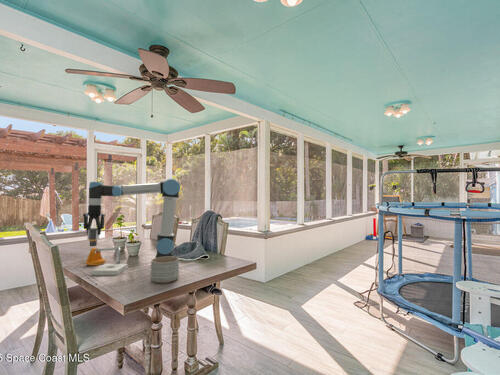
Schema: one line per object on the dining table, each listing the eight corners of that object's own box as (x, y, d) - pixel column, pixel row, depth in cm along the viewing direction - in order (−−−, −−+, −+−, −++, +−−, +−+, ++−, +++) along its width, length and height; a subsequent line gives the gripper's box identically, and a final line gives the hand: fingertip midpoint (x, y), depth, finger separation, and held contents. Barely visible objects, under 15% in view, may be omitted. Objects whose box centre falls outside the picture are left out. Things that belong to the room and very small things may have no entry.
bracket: (90, 266, 192) (91, 250, 192) (86, 265, 196) (86, 248, 196) (105, 263, 200) (106, 247, 201) (101, 262, 205) (101, 246, 205)
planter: (151, 285, 154) (152, 264, 154) (150, 277, 169) (150, 257, 169) (180, 282, 160) (180, 261, 161) (176, 274, 175) (176, 255, 176)
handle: (119, 267, 190) (119, 247, 190) (94, 269, 183) (94, 249, 184) (119, 266, 192) (120, 247, 192) (94, 268, 186) (95, 248, 186)
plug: (98, 245, 179) (99, 228, 179) (94, 246, 174) (95, 229, 174) (91, 244, 179) (92, 227, 179) (87, 246, 174) (88, 228, 174)
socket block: (127, 268, 189) (127, 263, 189) (116, 275, 173) (117, 270, 173) (105, 268, 188) (105, 263, 188) (92, 275, 172) (92, 270, 172)
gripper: (111, 204, 181) (109, 238, 180) (84, 204, 181) (83, 238, 180) (105, 205, 173) (103, 240, 173) (77, 204, 173) (76, 240, 173)
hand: (93, 239), depth 176 cm, fingers closed on plug, 5 cm apart
